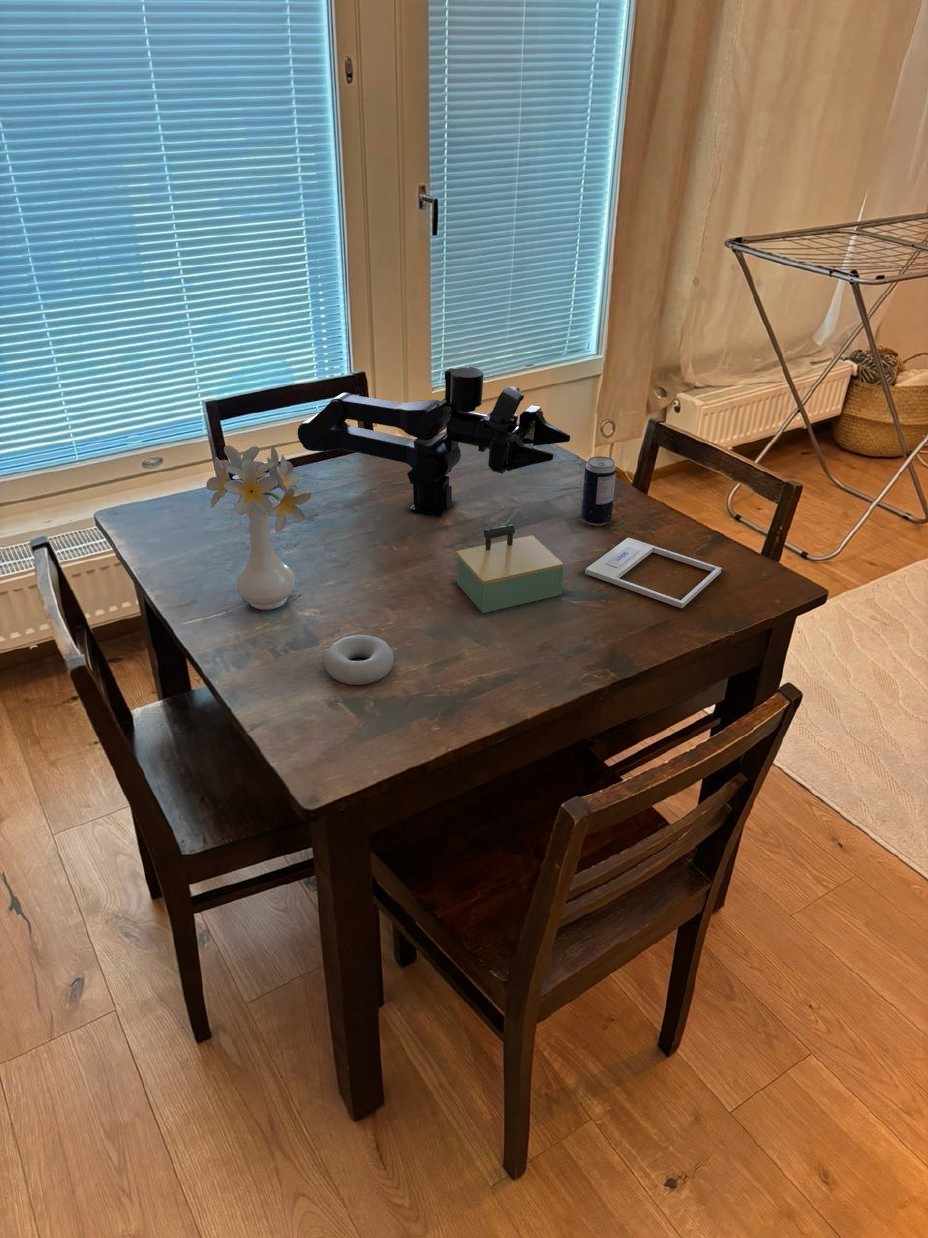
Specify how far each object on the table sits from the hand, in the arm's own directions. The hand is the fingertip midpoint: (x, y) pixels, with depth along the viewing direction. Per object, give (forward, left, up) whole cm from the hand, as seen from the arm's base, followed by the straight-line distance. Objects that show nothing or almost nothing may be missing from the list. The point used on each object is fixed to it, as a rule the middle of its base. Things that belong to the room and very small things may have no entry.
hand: (561, 447), depth 160 cm
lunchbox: (-1, -23, -17) cm, 28 cm away
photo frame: (+20, -9, -17) cm, 27 cm away
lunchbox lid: (-2, -22, -11) cm, 25 cm away
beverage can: (+6, +7, -17) cm, 19 cm away
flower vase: (-36, -40, -17) cm, 56 cm away
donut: (-14, -52, -17) cm, 56 cm away
